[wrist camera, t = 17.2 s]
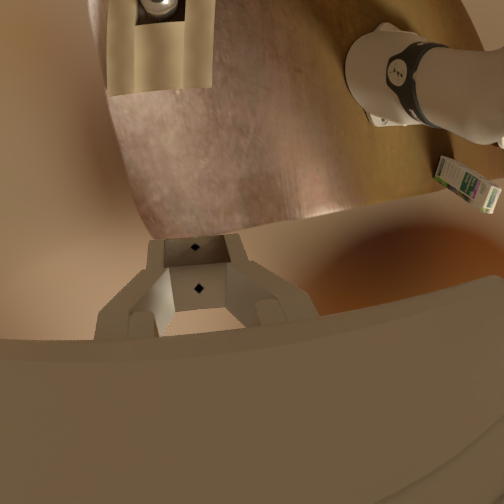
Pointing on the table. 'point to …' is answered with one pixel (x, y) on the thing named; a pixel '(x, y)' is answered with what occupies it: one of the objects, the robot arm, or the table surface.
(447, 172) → the syrup box
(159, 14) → the bushing
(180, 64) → the frame
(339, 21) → the table surface
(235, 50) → the table surface
